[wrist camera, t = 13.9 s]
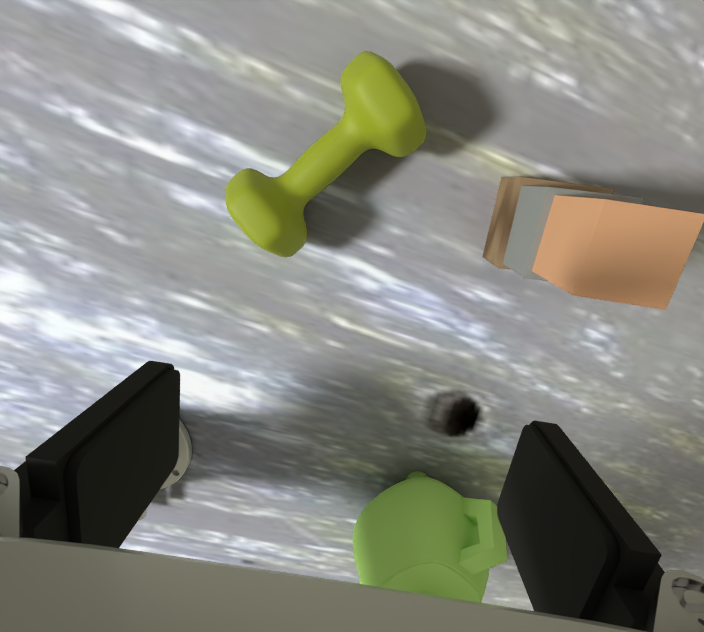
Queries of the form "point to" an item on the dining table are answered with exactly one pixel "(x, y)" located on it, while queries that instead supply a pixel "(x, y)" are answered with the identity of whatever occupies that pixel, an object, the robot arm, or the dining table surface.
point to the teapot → (428, 540)
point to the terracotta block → (616, 249)
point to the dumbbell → (329, 155)
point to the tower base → (507, 208)
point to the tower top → (540, 224)
